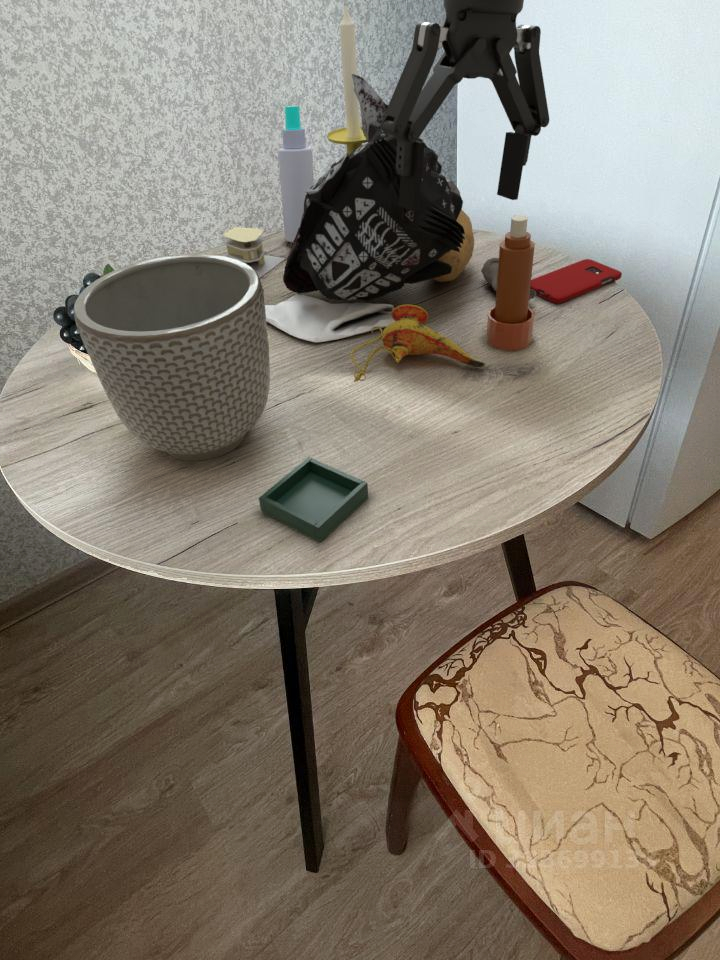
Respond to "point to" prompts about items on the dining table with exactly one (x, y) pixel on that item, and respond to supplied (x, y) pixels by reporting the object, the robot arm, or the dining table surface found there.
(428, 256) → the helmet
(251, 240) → the stacked layers on plate
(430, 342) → the magic lamp
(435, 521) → the dining table surface
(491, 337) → the terracotta round cup
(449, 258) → the potato
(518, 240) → the bottle
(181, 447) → the planter
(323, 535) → the tray
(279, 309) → the cloth
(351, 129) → the candle
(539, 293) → the cell phone
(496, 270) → the rhino figurine
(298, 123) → the spray bottle
